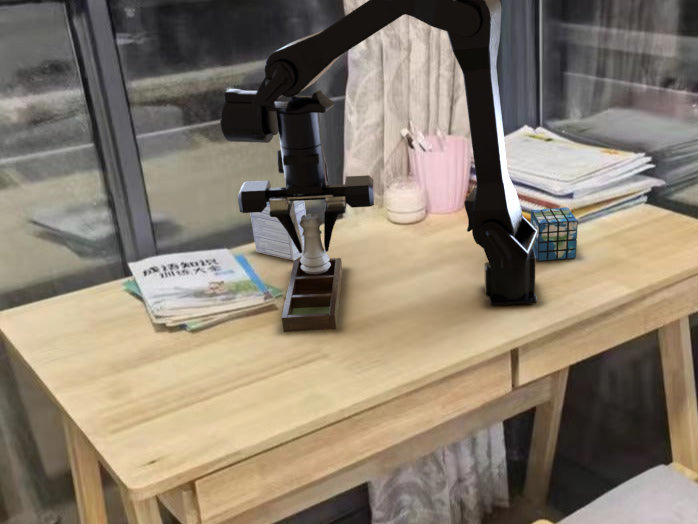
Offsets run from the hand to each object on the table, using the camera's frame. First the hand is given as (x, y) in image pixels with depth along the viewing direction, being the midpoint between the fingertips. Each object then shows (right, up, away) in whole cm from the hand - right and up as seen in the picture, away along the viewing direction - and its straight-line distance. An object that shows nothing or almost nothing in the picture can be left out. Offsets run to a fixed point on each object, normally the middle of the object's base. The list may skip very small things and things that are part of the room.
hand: (314, 251), depth 138 cm
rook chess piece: (0, -2, +2) cm, 3 cm away
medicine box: (-7, +2, +12) cm, 14 cm away
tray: (0, -7, -3) cm, 8 cm away
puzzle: (+36, +1, +9) cm, 37 cm away
